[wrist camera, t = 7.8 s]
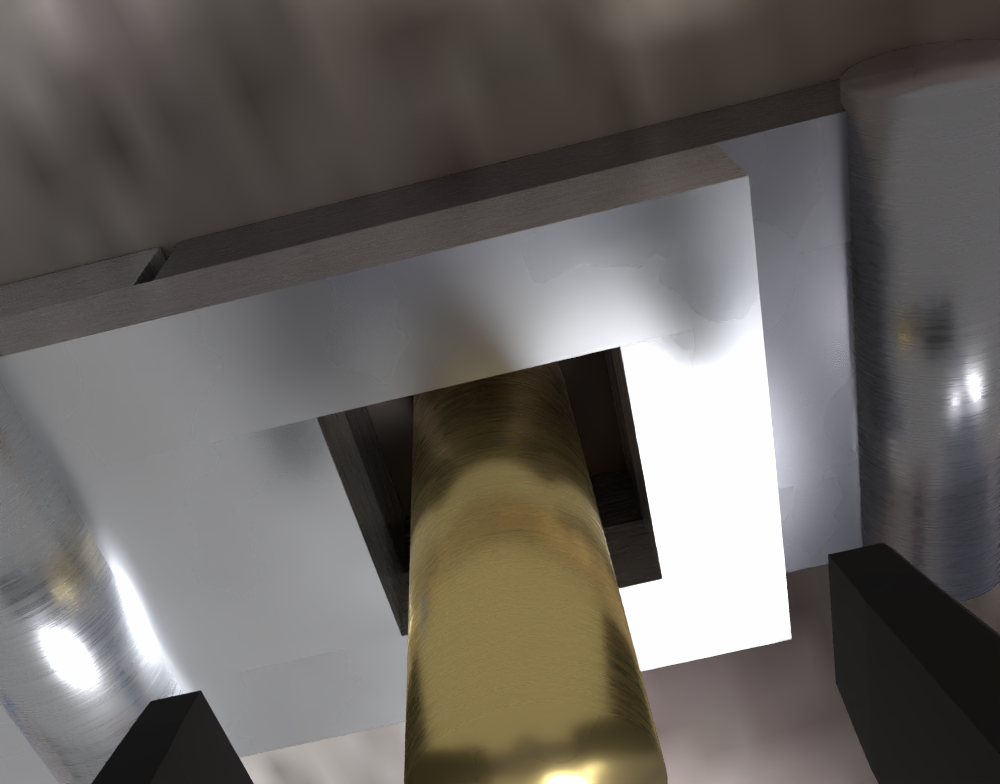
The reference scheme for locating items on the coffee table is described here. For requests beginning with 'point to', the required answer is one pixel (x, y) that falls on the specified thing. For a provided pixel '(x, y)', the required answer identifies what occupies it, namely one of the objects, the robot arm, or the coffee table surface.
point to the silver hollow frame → (337, 462)
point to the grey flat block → (811, 300)
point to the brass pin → (515, 599)
